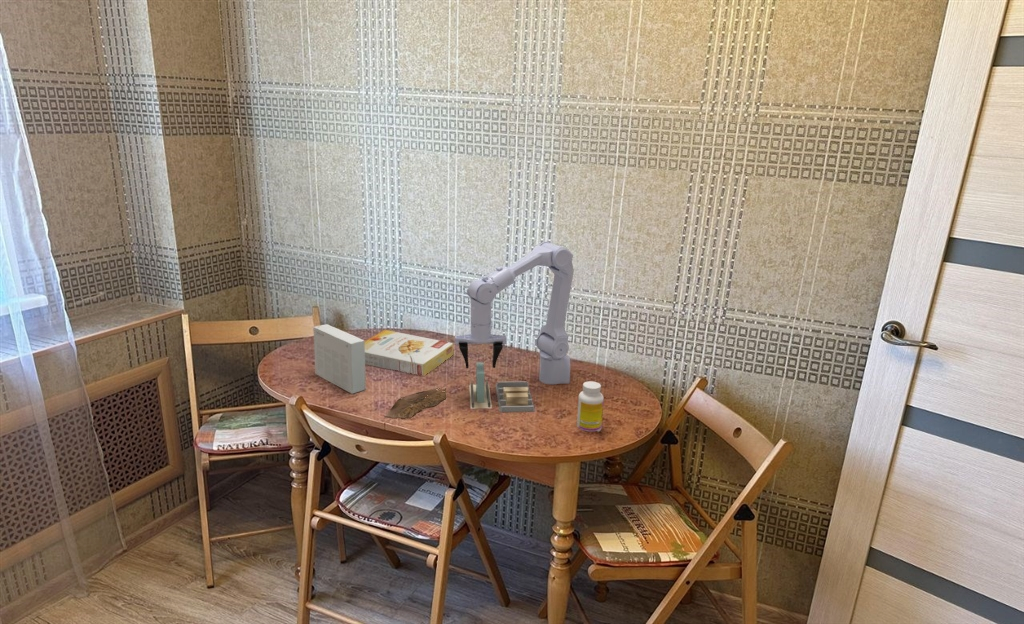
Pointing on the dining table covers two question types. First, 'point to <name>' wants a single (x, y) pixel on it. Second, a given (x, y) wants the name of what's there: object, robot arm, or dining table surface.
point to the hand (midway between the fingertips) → (480, 366)
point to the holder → (473, 397)
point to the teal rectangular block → (480, 382)
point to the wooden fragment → (415, 403)
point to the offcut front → (516, 399)
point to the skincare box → (339, 358)
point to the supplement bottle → (590, 407)
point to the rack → (503, 402)
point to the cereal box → (406, 352)
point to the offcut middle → (514, 390)
